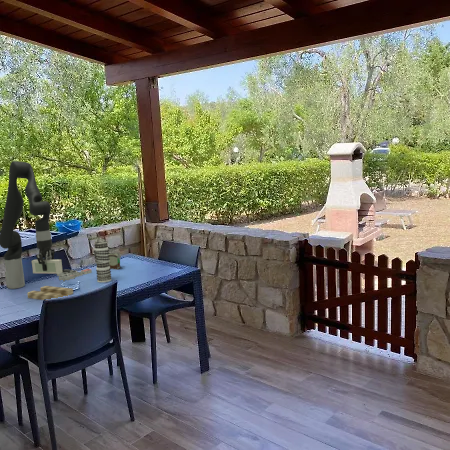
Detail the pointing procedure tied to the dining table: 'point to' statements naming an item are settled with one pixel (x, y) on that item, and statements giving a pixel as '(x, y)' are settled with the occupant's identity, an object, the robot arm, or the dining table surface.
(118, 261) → the food container
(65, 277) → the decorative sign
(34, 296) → the tan bumpy slab
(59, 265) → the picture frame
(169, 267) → the dining table surface
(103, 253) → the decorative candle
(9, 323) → the dining table surface
